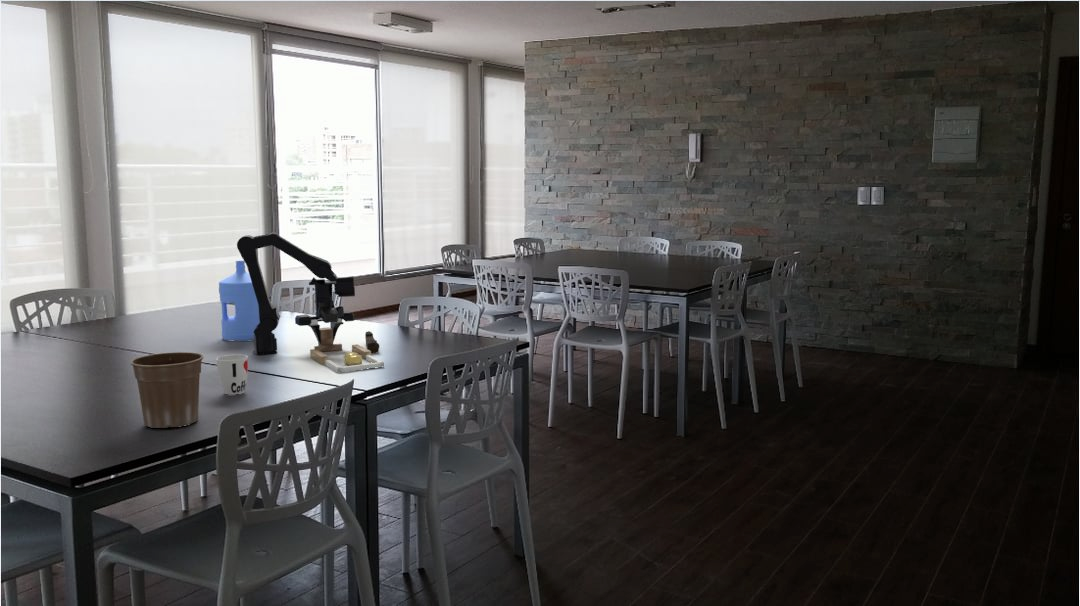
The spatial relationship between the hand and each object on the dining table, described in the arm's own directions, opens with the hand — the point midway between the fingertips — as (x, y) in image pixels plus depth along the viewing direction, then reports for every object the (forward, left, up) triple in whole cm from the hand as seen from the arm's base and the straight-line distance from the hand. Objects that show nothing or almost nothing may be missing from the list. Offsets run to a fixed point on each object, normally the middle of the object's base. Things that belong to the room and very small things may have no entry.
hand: (326, 343), depth 302 cm
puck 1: (0, -27, -2) cm, 27 cm away
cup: (-39, -44, -2) cm, 59 cm away
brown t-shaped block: (0, 0, -2) cm, 2 cm away
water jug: (-19, +37, -2) cm, 42 cm away
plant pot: (-58, -66, -2) cm, 88 cm away
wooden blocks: (0, -16, -2) cm, 16 cm away
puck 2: (0, -31, -2) cm, 31 cm away
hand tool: (+13, -5, -3) cm, 15 cm away
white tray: (0, -30, -2) cm, 30 cm away
